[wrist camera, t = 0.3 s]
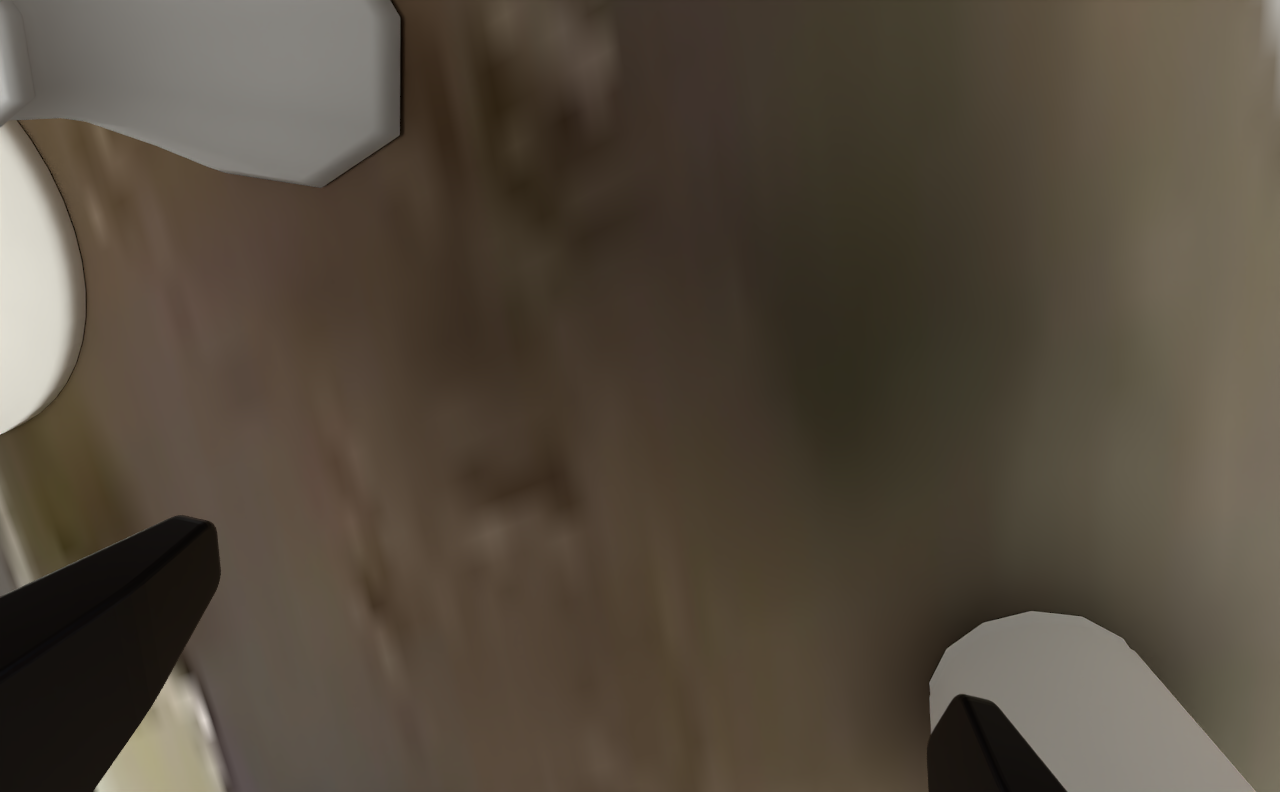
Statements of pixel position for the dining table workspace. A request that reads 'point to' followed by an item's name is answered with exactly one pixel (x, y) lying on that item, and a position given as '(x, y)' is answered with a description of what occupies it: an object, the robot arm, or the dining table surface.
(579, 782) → the dining table surface
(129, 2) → the flask
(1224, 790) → the foam cup
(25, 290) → the ceramic plate
